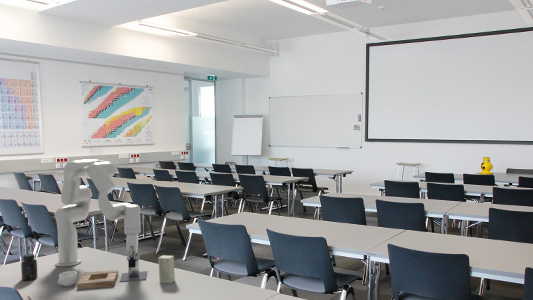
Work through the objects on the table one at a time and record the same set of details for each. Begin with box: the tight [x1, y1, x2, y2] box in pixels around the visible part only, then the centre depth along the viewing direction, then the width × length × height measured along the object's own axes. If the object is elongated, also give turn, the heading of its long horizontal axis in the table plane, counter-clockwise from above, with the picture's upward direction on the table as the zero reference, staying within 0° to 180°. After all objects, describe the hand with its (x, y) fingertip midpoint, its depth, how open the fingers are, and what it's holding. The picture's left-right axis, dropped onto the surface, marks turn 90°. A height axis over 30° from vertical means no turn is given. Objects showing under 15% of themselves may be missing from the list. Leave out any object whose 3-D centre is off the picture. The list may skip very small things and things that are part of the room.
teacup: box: [57, 270, 78, 287], centre depth 200 cm, size 10×8×5 cm
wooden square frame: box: [76, 269, 119, 290], centre depth 204 cm, size 16×16×3 cm
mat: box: [119, 270, 148, 283], centre depth 211 cm, size 12×12×1 cm
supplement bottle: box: [20, 253, 38, 282], centre depth 209 cm, size 7×7×12 cm
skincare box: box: [158, 254, 176, 284], centre depth 203 cm, size 6×4×12 cm
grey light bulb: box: [126, 254, 141, 278], centre depth 210 cm, size 6×6×10 cm
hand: (133, 264), depth 211 cm, fingers open, 9 cm apart
